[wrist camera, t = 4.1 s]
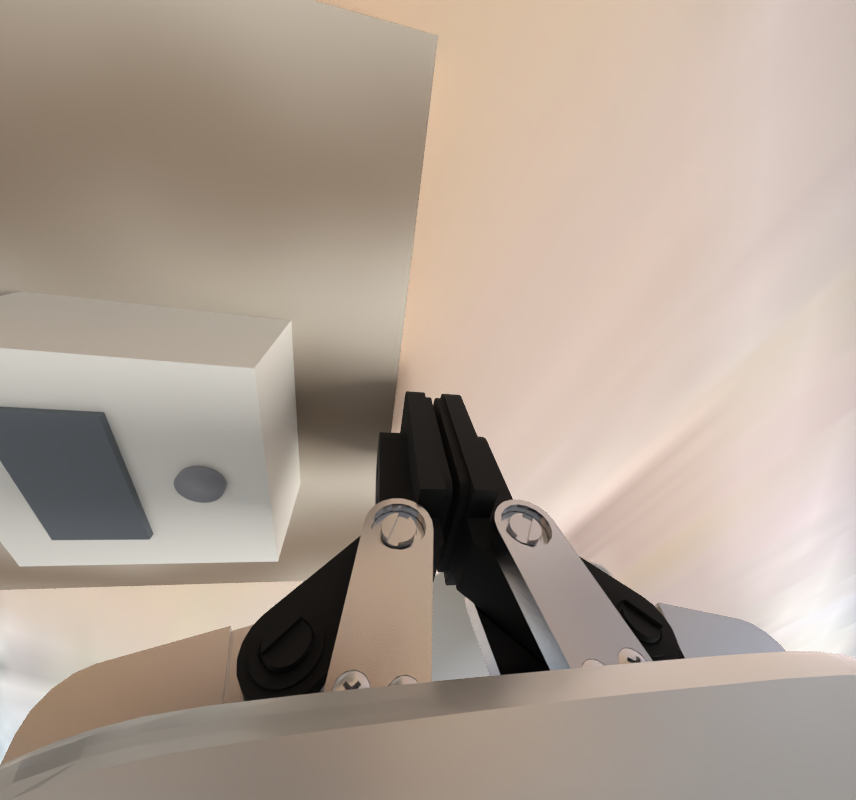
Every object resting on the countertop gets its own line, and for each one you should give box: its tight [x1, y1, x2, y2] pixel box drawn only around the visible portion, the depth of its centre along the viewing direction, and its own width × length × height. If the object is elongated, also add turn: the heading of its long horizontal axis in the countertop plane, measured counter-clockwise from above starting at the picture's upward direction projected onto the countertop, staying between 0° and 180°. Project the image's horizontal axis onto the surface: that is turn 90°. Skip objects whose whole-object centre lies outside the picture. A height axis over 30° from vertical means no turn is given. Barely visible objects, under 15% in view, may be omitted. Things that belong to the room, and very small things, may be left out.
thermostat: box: [0, 291, 300, 567], centre depth 8 cm, size 6×6×3 cm
